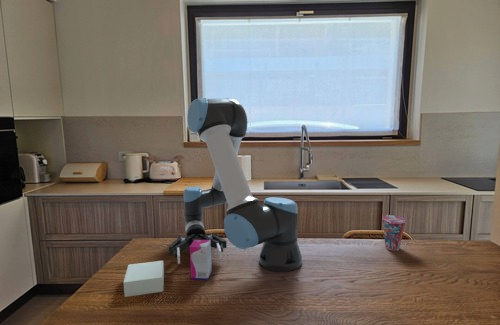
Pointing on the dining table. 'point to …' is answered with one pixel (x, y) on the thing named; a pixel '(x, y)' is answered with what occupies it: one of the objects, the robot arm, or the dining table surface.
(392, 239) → the cup
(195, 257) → the supplement box
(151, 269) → the base block
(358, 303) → the dining table surface
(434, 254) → the dining table surface
